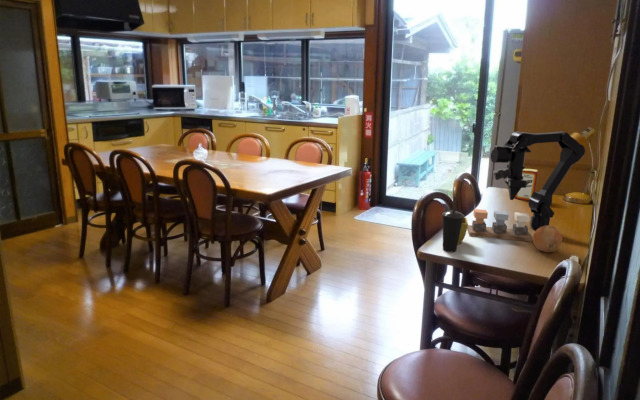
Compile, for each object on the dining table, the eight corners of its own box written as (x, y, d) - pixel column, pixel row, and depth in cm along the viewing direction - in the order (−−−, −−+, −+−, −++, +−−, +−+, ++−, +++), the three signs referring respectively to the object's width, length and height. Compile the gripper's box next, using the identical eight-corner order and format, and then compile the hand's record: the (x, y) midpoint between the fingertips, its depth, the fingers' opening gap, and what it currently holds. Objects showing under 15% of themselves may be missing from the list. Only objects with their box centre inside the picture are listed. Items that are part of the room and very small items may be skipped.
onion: (551, 246, 182) (555, 221, 180) (565, 256, 173) (569, 230, 170) (526, 246, 182) (530, 221, 179) (539, 255, 172) (543, 229, 170)
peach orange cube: (484, 222, 197) (486, 209, 195) (486, 225, 192) (487, 213, 191) (472, 221, 198) (474, 209, 196) (473, 224, 193) (475, 212, 192)
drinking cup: (436, 246, 179) (441, 194, 174) (455, 246, 179) (461, 194, 174) (442, 253, 171) (448, 200, 166) (463, 253, 172) (469, 200, 167)
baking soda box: (514, 198, 256) (518, 169, 252) (514, 195, 261) (518, 167, 257) (533, 200, 252) (537, 171, 248) (533, 198, 258) (538, 169, 254)
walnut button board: (526, 233, 197) (528, 223, 196) (532, 241, 188) (534, 230, 186) (466, 228, 201) (468, 218, 200) (469, 235, 192) (470, 225, 191)
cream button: (525, 225, 194) (527, 213, 192) (528, 229, 189) (530, 216, 188) (513, 224, 195) (514, 212, 193) (515, 228, 190) (517, 215, 189)
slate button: (504, 224, 195) (506, 211, 194) (506, 227, 191) (508, 214, 189) (492, 223, 196) (494, 210, 195) (494, 226, 192) (496, 213, 190)
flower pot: (465, 246, 180) (468, 223, 177) (441, 244, 181) (444, 221, 179) (463, 239, 188) (466, 217, 186) (441, 236, 190) (443, 215, 187)
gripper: (492, 157, 205) (488, 193, 209) (499, 165, 187) (494, 203, 191) (519, 159, 203) (514, 195, 207) (529, 167, 185) (523, 205, 189)
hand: (511, 199), depth 199 cm, fingers closed
